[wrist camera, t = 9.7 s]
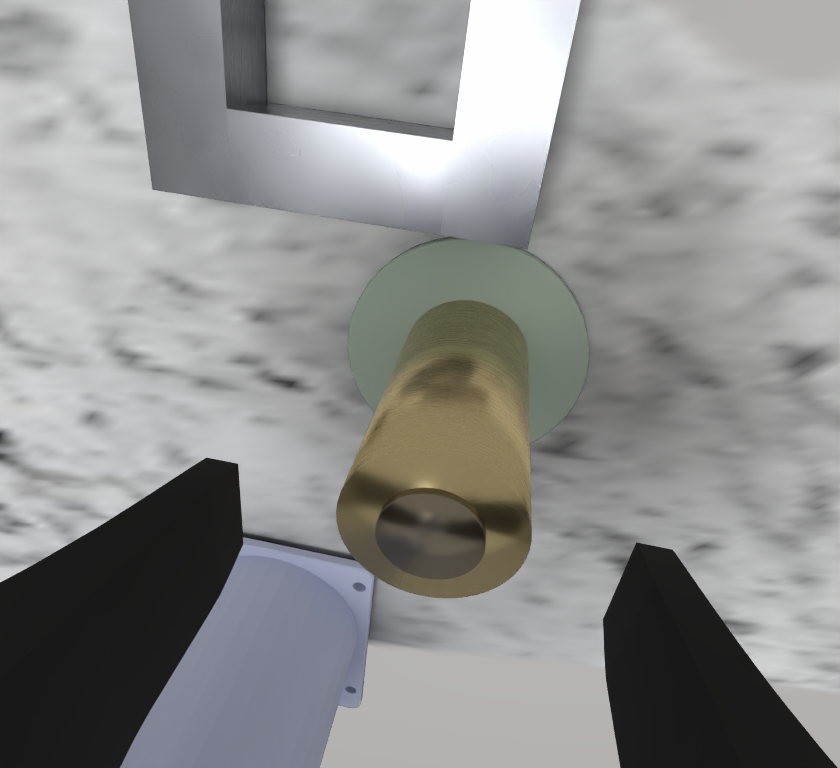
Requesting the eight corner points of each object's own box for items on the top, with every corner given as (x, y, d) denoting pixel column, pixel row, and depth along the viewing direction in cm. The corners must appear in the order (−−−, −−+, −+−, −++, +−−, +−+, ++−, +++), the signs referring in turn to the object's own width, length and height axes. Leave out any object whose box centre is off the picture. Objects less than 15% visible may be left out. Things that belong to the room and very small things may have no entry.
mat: (555, 467, 18) (555, 475, 18) (346, 427, 19) (343, 434, 18) (618, 258, 14) (620, 263, 14) (357, 217, 15) (353, 221, 15)
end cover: (514, 420, 17) (510, 625, 11) (399, 399, 17) (329, 587, 11) (540, 311, 15) (552, 482, 9) (411, 290, 15) (335, 441, 9)
